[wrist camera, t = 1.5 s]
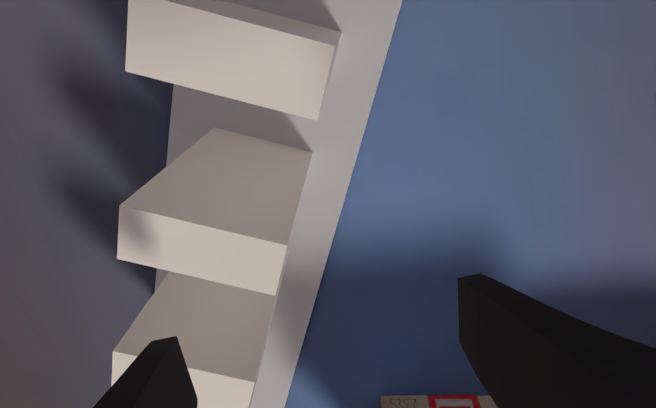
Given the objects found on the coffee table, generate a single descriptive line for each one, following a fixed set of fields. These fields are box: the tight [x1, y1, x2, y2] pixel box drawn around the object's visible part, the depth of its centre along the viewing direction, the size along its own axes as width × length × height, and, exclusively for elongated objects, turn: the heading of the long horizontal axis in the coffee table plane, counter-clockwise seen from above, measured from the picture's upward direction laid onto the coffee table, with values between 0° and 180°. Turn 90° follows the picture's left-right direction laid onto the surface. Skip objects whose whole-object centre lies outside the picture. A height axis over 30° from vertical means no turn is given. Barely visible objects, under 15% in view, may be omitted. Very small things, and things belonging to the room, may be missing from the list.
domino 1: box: [125, 0, 342, 121], centre depth 14 cm, size 2×5×9 cm, turn 76°
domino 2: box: [117, 127, 313, 296], centre depth 16 cm, size 2×5×9 cm, turn 76°
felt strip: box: [155, 0, 402, 408], centre depth 21 cm, size 32×9×1 cm, turn 166°
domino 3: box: [111, 248, 289, 408], centre depth 19 cm, size 2×5×9 cm, turn 76°
